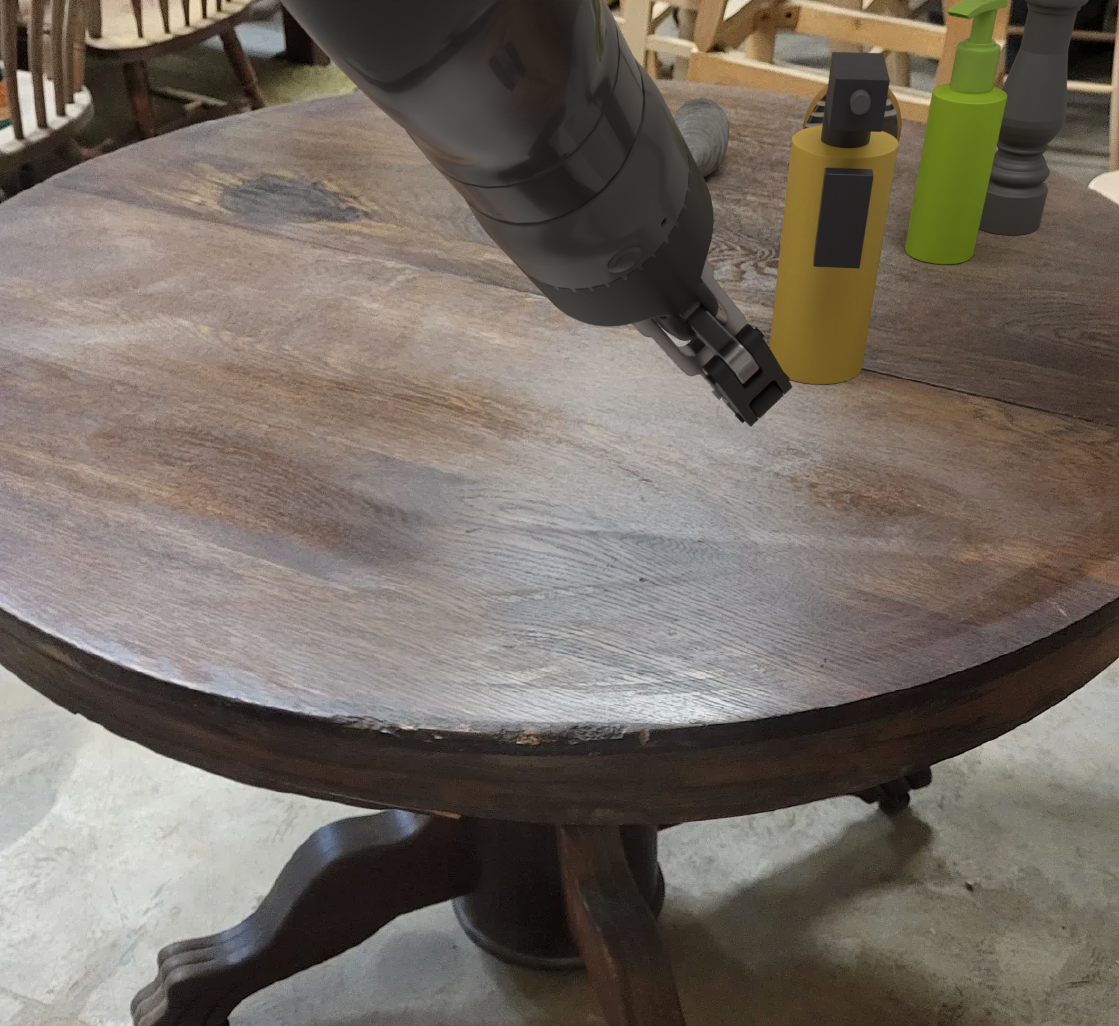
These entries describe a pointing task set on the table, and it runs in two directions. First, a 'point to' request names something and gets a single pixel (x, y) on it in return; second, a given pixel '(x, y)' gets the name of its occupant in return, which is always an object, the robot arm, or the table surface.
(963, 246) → the soap dispenser
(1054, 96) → the candle holder
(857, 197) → the trigger
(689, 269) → the robot arm
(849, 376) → the spray bottle
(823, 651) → the table surface
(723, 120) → the seashell
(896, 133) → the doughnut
